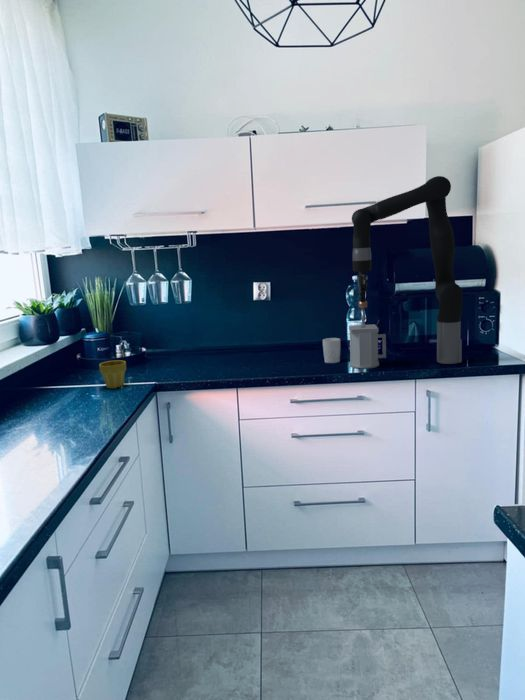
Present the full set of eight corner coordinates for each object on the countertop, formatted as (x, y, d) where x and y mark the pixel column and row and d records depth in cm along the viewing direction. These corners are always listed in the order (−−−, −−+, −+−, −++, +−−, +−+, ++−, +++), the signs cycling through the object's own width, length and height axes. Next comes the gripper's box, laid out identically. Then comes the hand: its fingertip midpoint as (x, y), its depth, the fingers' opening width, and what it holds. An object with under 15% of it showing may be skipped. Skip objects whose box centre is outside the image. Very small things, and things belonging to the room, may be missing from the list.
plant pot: (118, 390, 215) (115, 366, 213) (96, 389, 219) (93, 365, 217) (133, 383, 225) (130, 360, 223) (112, 382, 228) (109, 359, 226)
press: (383, 361, 237) (383, 323, 234) (388, 367, 225) (387, 328, 222) (348, 362, 239) (347, 325, 235) (350, 369, 227) (349, 330, 223)
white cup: (344, 362, 241) (343, 339, 239) (328, 364, 238) (327, 341, 236) (335, 358, 248) (334, 337, 246) (320, 361, 245) (319, 339, 243)
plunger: (373, 337, 234) (372, 299, 231) (376, 341, 225) (375, 302, 222) (351, 338, 235) (350, 300, 232) (353, 342, 226) (352, 303, 223)
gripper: (373, 259, 217) (374, 302, 220) (369, 258, 230) (370, 299, 233) (354, 260, 217) (355, 303, 221) (351, 259, 230) (352, 300, 234)
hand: (362, 301), depth 227 cm, fingers closed
